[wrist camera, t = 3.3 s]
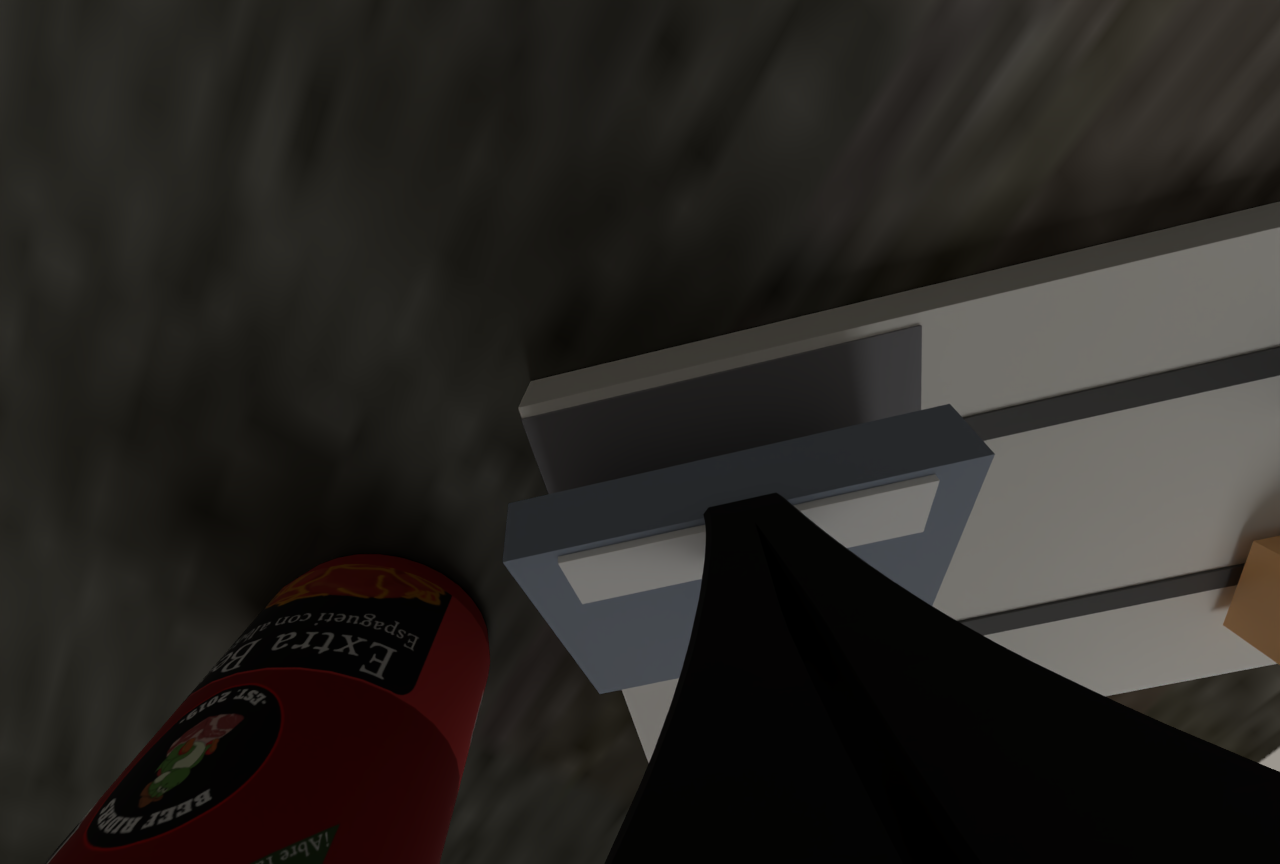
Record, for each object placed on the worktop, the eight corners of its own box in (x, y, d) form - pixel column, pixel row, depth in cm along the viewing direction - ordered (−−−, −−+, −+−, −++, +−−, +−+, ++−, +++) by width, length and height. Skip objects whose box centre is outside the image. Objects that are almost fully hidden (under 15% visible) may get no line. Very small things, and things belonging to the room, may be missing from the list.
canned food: (461, 530, 16) (227, 1040, 7) (519, 694, 20) (423, 1193, 10) (233, 562, 17) (-339, 1110, 7) (329, 720, 20) (46, 1238, 10)
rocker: (897, 582, 15) (925, 634, 13) (597, 644, 15) (600, 699, 14) (949, 403, 10) (1000, 460, 9) (508, 503, 10) (501, 569, 9)
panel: (1246, 615, 20) (1380, 703, 16) (651, 731, 21) (659, 835, 18) (1421, 167, 13) (1711, 156, 10) (530, 381, 14) (503, 439, 11)
